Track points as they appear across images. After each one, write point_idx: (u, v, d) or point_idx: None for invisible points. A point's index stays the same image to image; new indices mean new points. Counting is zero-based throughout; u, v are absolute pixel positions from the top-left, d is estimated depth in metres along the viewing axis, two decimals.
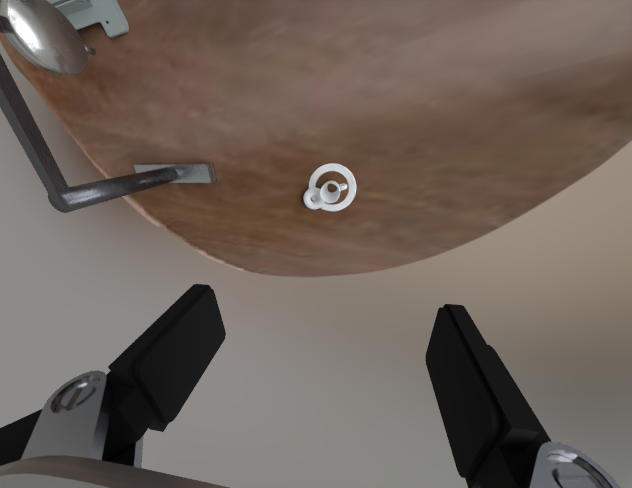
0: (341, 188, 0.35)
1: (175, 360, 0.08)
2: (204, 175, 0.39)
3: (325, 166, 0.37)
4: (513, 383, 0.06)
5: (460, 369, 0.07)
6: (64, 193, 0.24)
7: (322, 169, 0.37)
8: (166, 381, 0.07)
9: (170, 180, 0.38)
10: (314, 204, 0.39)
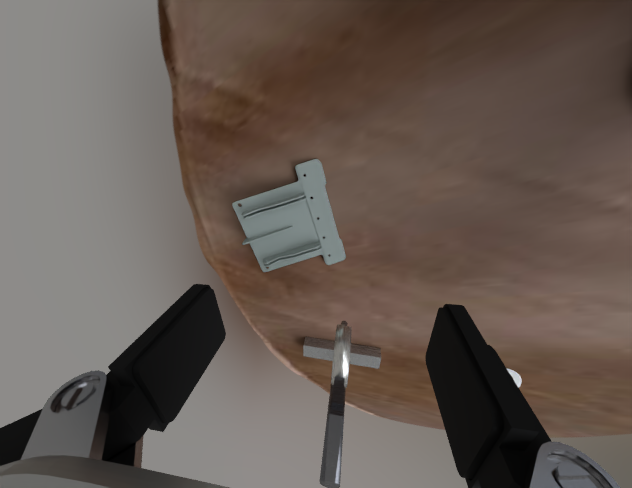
0: None
1: (175, 360, 0.08)
2: (374, 363, 0.41)
3: None
4: (513, 383, 0.06)
5: (460, 369, 0.07)
6: (337, 480, 0.27)
7: None
8: (166, 381, 0.07)
9: None
10: None
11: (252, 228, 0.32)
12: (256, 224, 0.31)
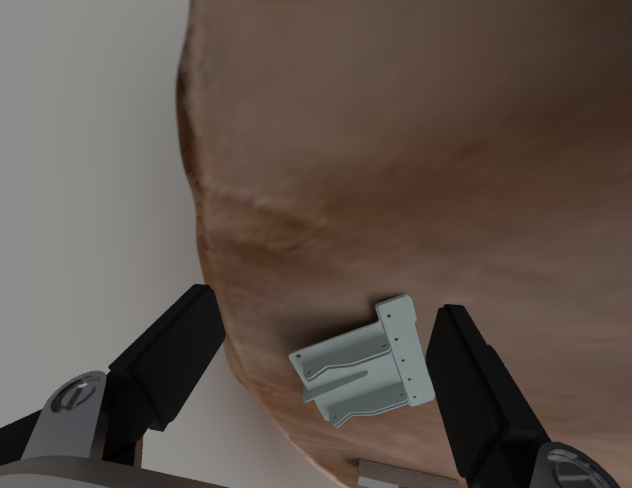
0: None
1: (175, 360, 0.08)
2: None
3: None
4: (513, 383, 0.06)
5: (460, 369, 0.07)
6: None
7: None
8: (166, 381, 0.07)
9: None
10: None
11: None
12: None
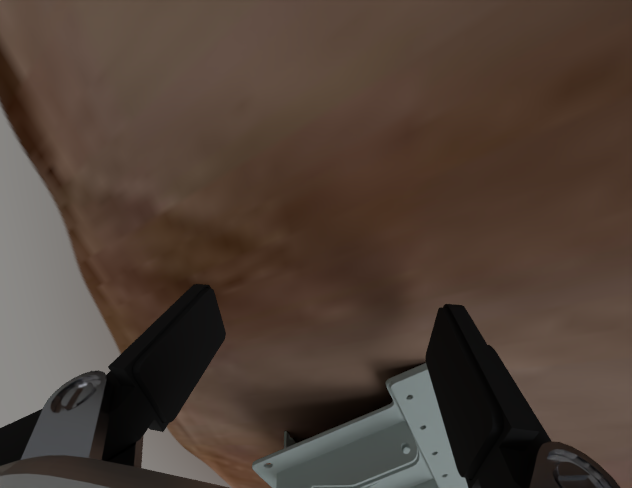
0: None
1: (175, 360, 0.08)
2: None
3: None
4: (513, 383, 0.06)
5: (460, 369, 0.07)
6: None
7: None
8: (166, 381, 0.07)
9: None
10: None
11: None
12: None
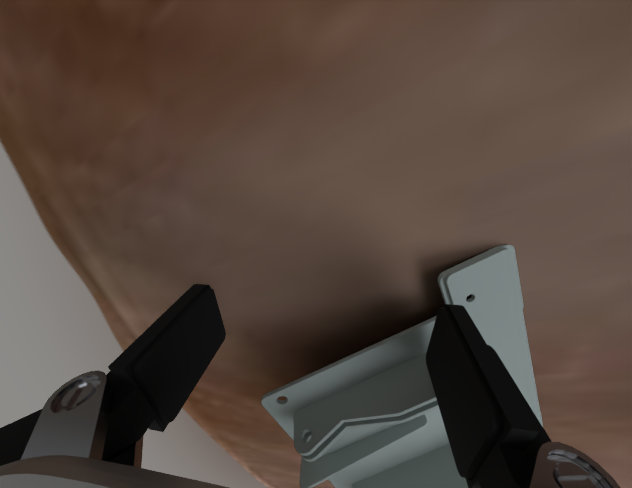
0: None
1: (175, 360, 0.08)
2: None
3: None
4: (513, 383, 0.06)
5: (460, 369, 0.07)
6: None
7: None
8: (166, 381, 0.07)
9: None
10: None
11: None
12: None
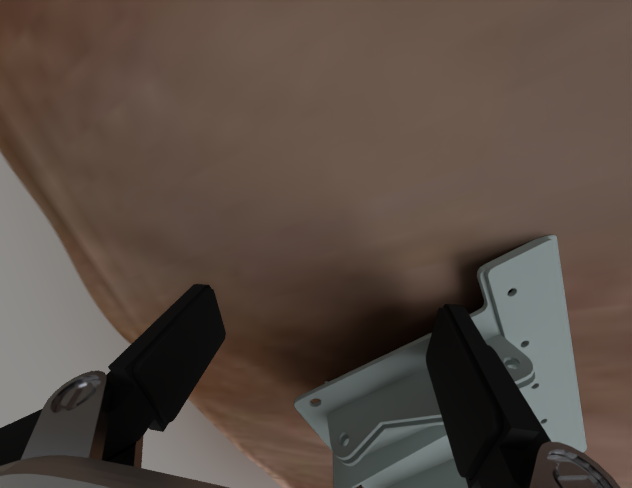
0: None
1: (175, 360, 0.08)
2: None
3: None
4: (513, 383, 0.06)
5: (460, 369, 0.07)
6: None
7: None
8: (166, 381, 0.07)
9: None
10: None
11: None
12: None
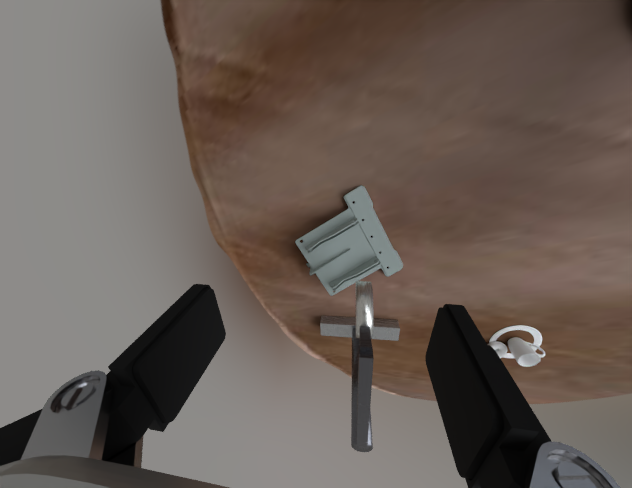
0: (541, 356, 0.37)
1: (175, 360, 0.08)
2: (393, 335, 0.41)
3: (514, 327, 0.39)
4: (513, 383, 0.06)
5: (460, 369, 0.07)
6: (369, 441, 0.26)
7: (510, 328, 0.39)
8: (166, 381, 0.07)
9: None
10: None
11: (314, 258, 0.35)
12: (318, 254, 0.35)
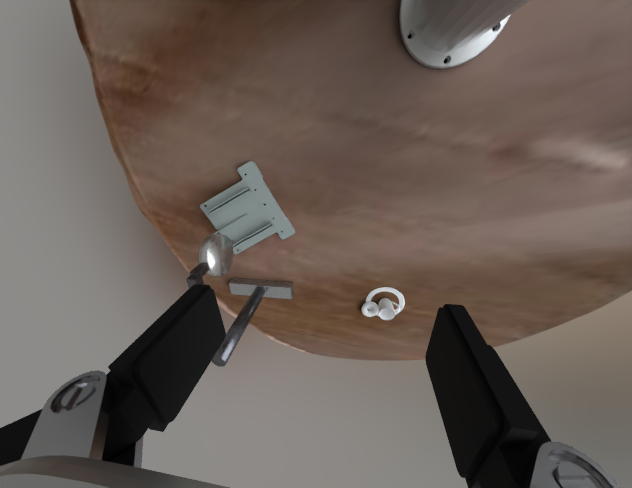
0: (396, 311, 0.45)
1: (175, 360, 0.08)
2: (287, 294, 0.49)
3: (381, 288, 0.47)
4: (513, 383, 0.06)
5: (460, 369, 0.07)
6: (223, 356, 0.35)
7: (379, 289, 0.47)
8: (166, 381, 0.07)
9: (261, 299, 0.48)
10: (370, 313, 0.49)
11: (218, 221, 0.42)
12: (220, 218, 0.42)
